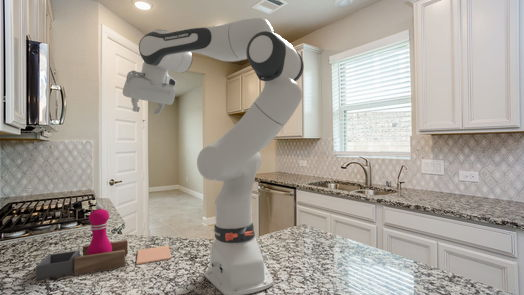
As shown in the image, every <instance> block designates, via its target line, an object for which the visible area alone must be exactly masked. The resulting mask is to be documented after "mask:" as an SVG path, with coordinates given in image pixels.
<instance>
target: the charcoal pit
mask: <svg viewBox="0 0 524 295" xmlns="http://www.w3.org/2000/svg"><path fill="white" fill-rule="evenodd" d="M78 256H81V251H80V249H79V250H78V249H77V250H71V251H65V252H64V251H63V252H57V253H56V252H55V253H51V254H50V253H49V254H47V255H46V256H45V257H44V258H43V259H42V260H41V261H40V262H39V263H38V264H36V266H35V280H36V281H38V280H44V279H51V278H57V277H62V276H69V275H73V273H74V272H75V267H74V258H75V257H78Z"/></svg>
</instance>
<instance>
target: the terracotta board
mask: <svg viewBox="0 0 524 295" xmlns="http://www.w3.org/2000/svg"><path fill="white" fill-rule="evenodd" d="M136 256H137V257H136V264H135V265H136V266H138V265H143V263H145V264H149V262H151V263H155V261H157V262H162V261H168V260H172V255H171V251H170V245H163V246H156V247H155V246H154V247H150V248H149V247H148V248H143V249H138V250H137V255H136ZM167 259H168V260H167Z"/></svg>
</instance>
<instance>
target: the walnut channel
mask: <svg viewBox="0 0 524 295" xmlns="http://www.w3.org/2000/svg"><path fill="white" fill-rule="evenodd" d="M110 243H111V245H112V251H111V252H105V253H99V254H92V255H88V254H87V253H88V247H89V245H90V244H88V245H86V244H85V245H82V255H80V256H78V257H75V258H74V267H75V270H74V275H81V274H82V275H83V274H86V273H92V272H99V271H106V270H111V269H116V268H123V267H124V268H125V267H126V256H127V254H129V251H128V250H129V249H128V248H129V247H128V246H129V245H128V239H124V240H123V239H122V240H116V241H110Z"/></svg>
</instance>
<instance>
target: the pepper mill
mask: <svg viewBox="0 0 524 295" xmlns="http://www.w3.org/2000/svg"><path fill="white" fill-rule="evenodd" d="M102 207H103V206H102V205H101V204H97V205H96V206H95V209H94V210H93V211H91V212H90V213H89V216H88V222H90V224H91V225H90V230H92V238H91V241H90V242H89V243H90V244H88V245H89V247H88V253H87V254H88V255H92V254H99V253H105V252H111V251H112V245H111V243H110V242H111V241H110V239H109V238H108V235H107V228H108V226H109V225H108V222H107V221H109V219H110V213H109V211H108V210H107V209H104V208H102Z"/></svg>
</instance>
